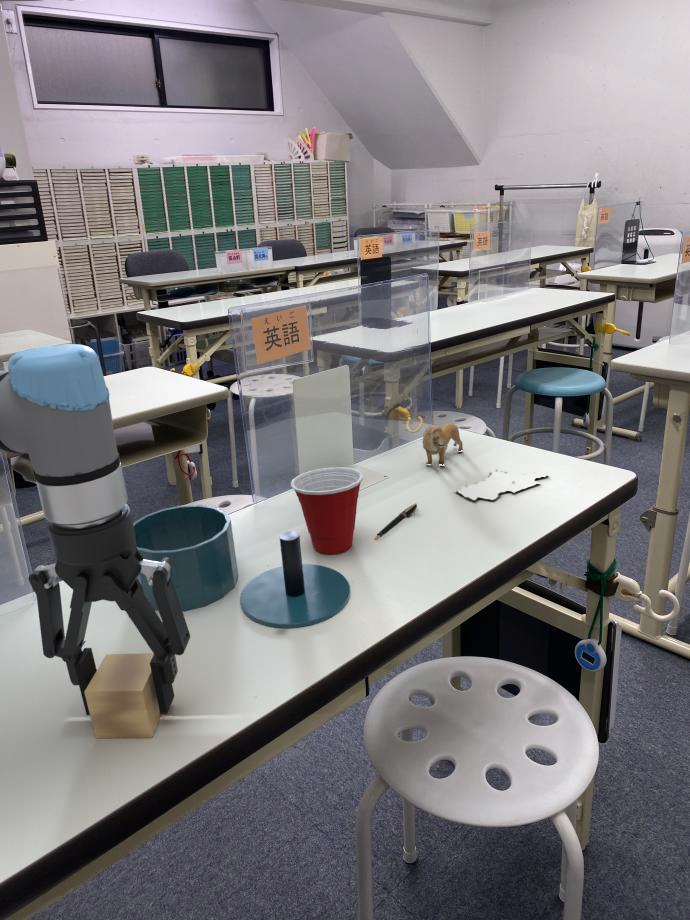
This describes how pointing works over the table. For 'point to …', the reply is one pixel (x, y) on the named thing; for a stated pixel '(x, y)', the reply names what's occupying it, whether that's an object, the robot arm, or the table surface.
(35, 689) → the table surface
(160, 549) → the tin
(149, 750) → the table surface
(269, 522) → the table surface
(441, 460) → the lion figurine
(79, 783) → the table surface
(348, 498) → the plastic cup
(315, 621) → the lid
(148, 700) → the block
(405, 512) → the fountain pen
